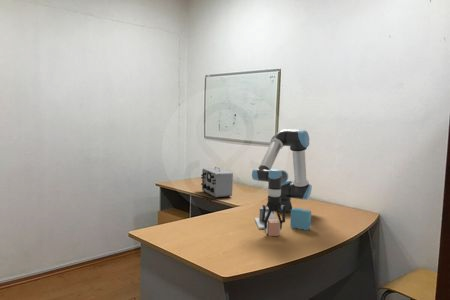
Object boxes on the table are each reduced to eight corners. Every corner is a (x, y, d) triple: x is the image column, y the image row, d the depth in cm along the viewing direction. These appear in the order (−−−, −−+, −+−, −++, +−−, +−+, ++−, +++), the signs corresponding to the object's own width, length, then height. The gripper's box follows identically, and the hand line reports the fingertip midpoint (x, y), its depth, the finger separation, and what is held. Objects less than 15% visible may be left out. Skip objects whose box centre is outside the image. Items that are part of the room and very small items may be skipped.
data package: (310, 229, 210) (311, 210, 209) (308, 231, 206) (309, 212, 205) (292, 225, 217) (293, 207, 215) (290, 227, 213) (290, 209, 212)
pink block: (276, 231, 203) (276, 219, 202) (278, 235, 195) (279, 223, 194) (266, 231, 203) (267, 218, 202) (269, 235, 195) (269, 222, 194)
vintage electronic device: (200, 191, 313) (200, 165, 311) (217, 190, 320) (218, 164, 318) (213, 199, 284) (213, 170, 282) (232, 197, 292) (232, 169, 290)
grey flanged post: (274, 220, 228) (275, 206, 227) (282, 231, 204) (283, 216, 203) (254, 219, 227) (255, 206, 226) (259, 231, 203) (260, 215, 202)
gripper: (288, 194, 201) (287, 231, 203) (257, 193, 200) (255, 231, 202) (292, 197, 193) (290, 235, 195) (258, 196, 192) (257, 235, 194)
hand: (272, 233), depth 198 cm, fingers open, 6 cm apart
